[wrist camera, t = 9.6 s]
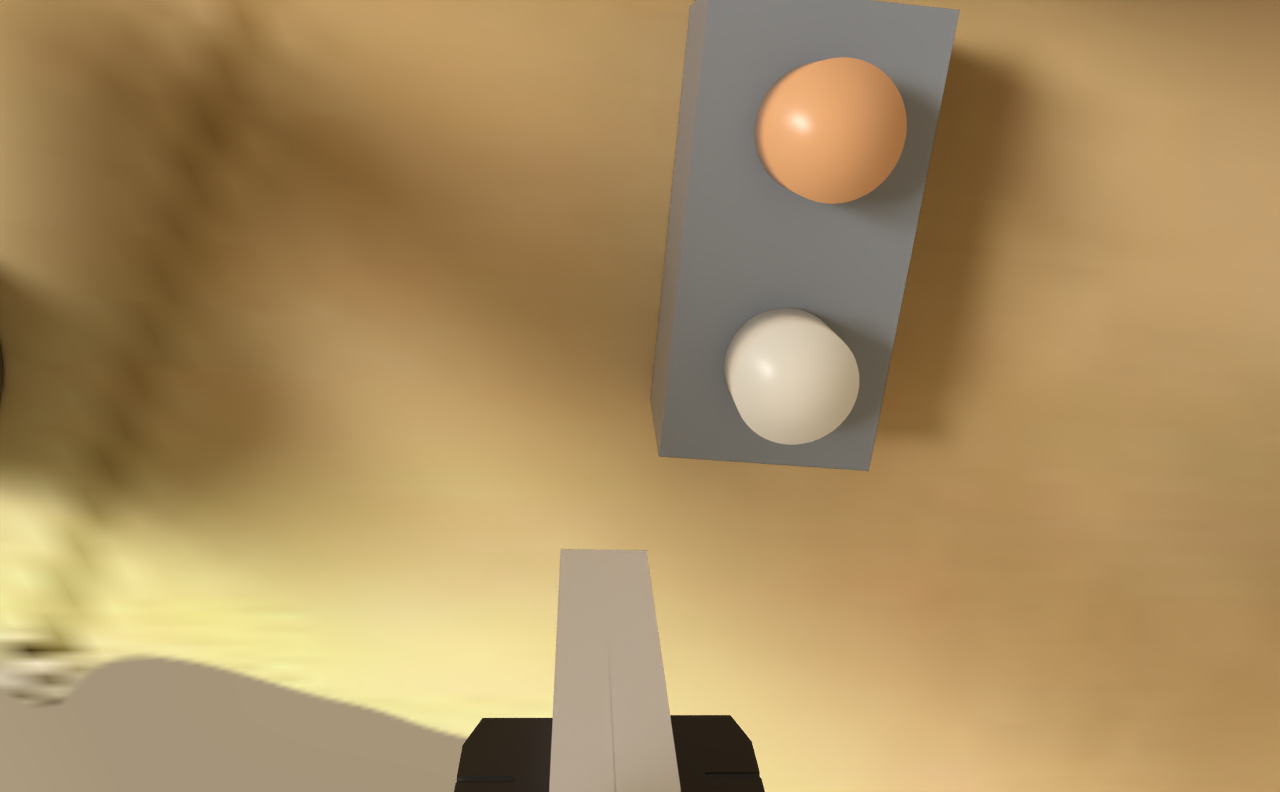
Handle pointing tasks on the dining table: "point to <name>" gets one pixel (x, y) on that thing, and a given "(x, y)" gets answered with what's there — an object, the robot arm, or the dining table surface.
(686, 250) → the console
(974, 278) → the dining table surface
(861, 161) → the knob
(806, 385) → the knob
